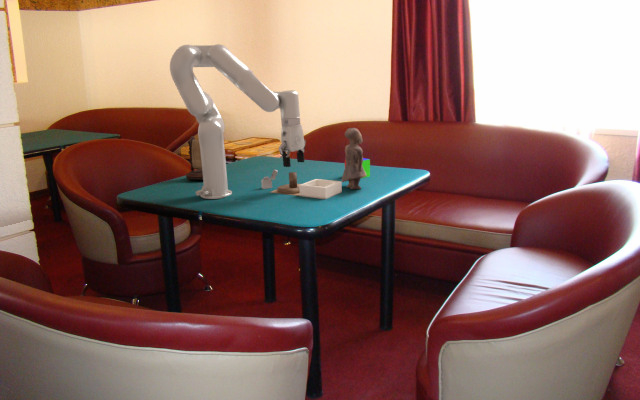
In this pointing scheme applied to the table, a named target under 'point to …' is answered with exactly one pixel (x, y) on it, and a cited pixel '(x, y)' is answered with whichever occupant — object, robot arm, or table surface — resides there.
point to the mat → (283, 193)
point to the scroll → (195, 160)
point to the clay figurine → (353, 159)
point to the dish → (320, 188)
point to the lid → (290, 185)
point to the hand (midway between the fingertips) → (294, 164)
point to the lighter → (268, 180)
